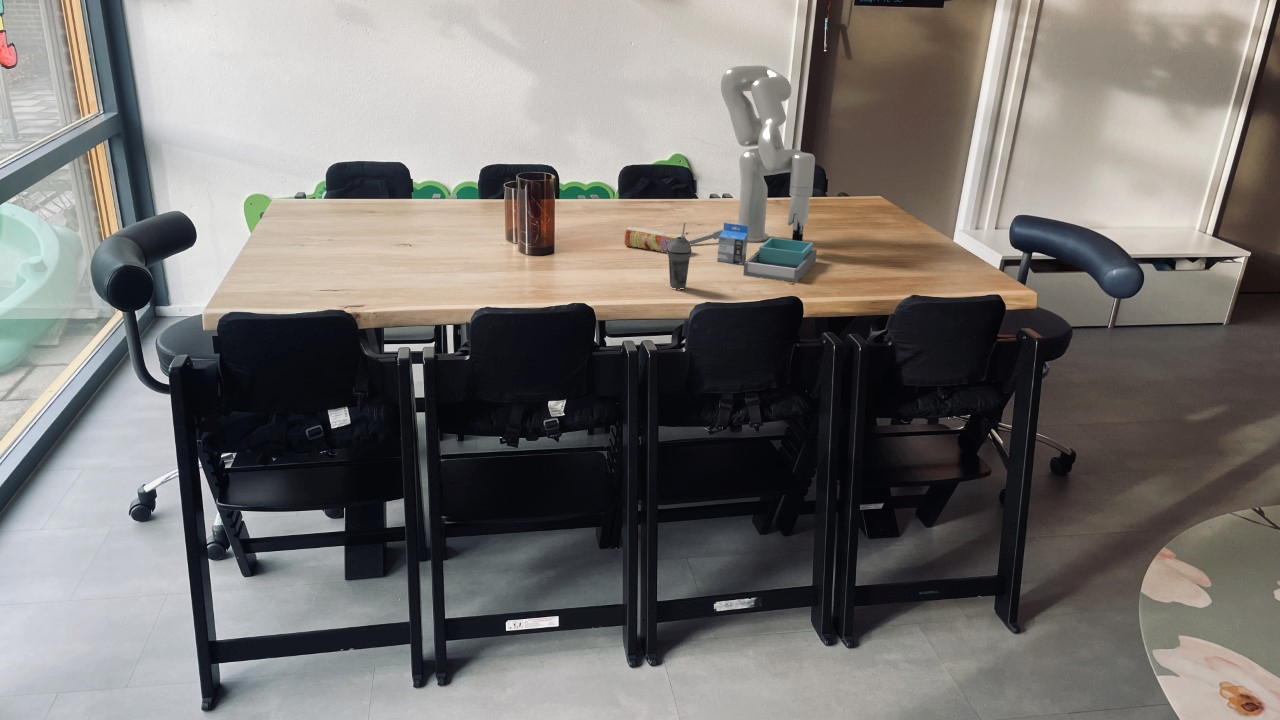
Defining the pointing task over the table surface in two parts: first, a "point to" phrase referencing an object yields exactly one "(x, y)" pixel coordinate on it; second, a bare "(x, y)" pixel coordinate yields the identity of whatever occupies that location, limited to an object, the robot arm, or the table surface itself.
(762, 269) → the bay
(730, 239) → the label tape box
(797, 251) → the teal square tray
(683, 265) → the beverage cup
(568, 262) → the table surface
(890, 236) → the table surface
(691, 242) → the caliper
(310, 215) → the table surface
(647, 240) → the snack package
